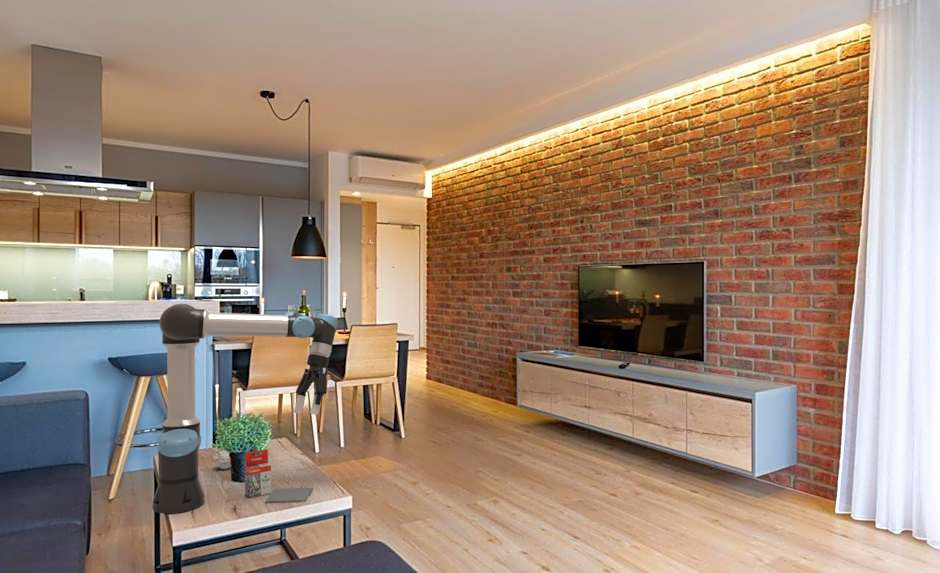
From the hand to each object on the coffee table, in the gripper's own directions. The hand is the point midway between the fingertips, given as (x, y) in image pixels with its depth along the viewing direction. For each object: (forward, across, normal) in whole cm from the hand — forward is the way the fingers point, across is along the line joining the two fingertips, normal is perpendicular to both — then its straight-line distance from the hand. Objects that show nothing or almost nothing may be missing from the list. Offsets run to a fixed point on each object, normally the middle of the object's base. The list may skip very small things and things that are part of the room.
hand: (305, 413), depth 216 cm
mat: (+28, -5, +1) cm, 28 cm away
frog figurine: (+24, +40, +9) cm, 47 cm away
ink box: (+29, +3, +8) cm, 31 cm away
